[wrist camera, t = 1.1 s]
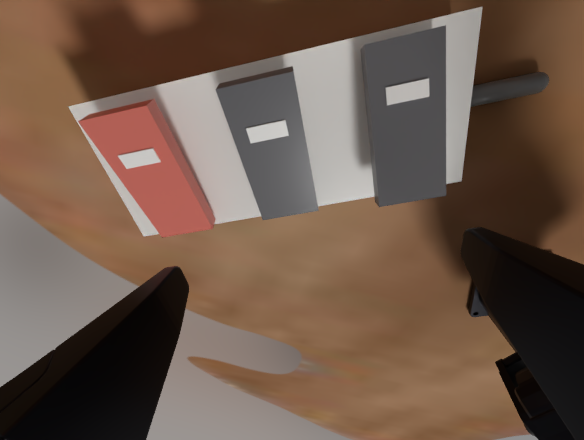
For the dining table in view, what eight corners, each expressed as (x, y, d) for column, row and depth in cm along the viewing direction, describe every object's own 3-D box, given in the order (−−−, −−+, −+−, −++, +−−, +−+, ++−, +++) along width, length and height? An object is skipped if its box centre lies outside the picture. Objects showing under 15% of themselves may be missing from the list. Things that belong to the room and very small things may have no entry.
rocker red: (215, 218, 19) (212, 229, 18) (166, 227, 19) (161, 238, 18) (154, 99, 13) (145, 106, 13) (89, 114, 14) (77, 122, 13)
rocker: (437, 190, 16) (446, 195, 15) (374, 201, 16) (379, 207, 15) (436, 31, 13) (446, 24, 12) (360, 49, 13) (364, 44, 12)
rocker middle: (317, 201, 18) (318, 211, 17) (263, 210, 18) (262, 220, 17) (292, 66, 13) (293, 71, 12) (219, 83, 13) (215, 89, 12)
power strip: (522, 150, 19) (557, 164, 17) (161, 215, 22) (143, 236, 20) (560, -12, 15) (615, -26, 12) (100, 99, 18) (67, 106, 15)
